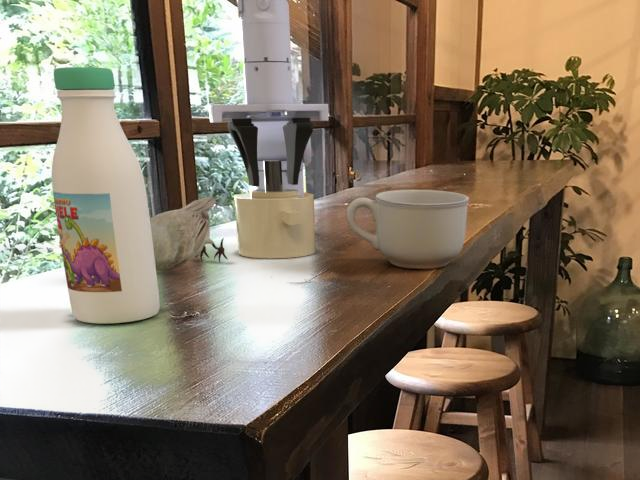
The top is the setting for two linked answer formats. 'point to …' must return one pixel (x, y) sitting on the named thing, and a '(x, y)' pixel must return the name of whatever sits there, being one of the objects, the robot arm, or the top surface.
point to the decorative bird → (182, 234)
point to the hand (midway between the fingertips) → (273, 185)
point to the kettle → (275, 219)
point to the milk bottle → (101, 205)
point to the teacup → (415, 226)
